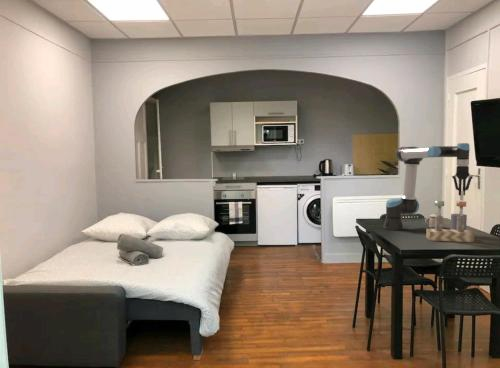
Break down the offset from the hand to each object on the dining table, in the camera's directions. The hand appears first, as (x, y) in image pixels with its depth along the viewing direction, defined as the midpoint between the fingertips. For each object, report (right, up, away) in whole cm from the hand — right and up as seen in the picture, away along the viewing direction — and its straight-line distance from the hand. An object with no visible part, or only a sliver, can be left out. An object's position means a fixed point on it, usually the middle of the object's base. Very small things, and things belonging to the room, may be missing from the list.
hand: (461, 200), depth 296 cm
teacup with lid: (+3, -24, +53) cm, 58 cm away
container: (+7, -26, +19) cm, 33 cm away
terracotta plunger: (0, -15, +1) cm, 15 cm away
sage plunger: (-14, -15, +4) cm, 21 cm away
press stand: (-7, -27, +4) cm, 28 cm away
